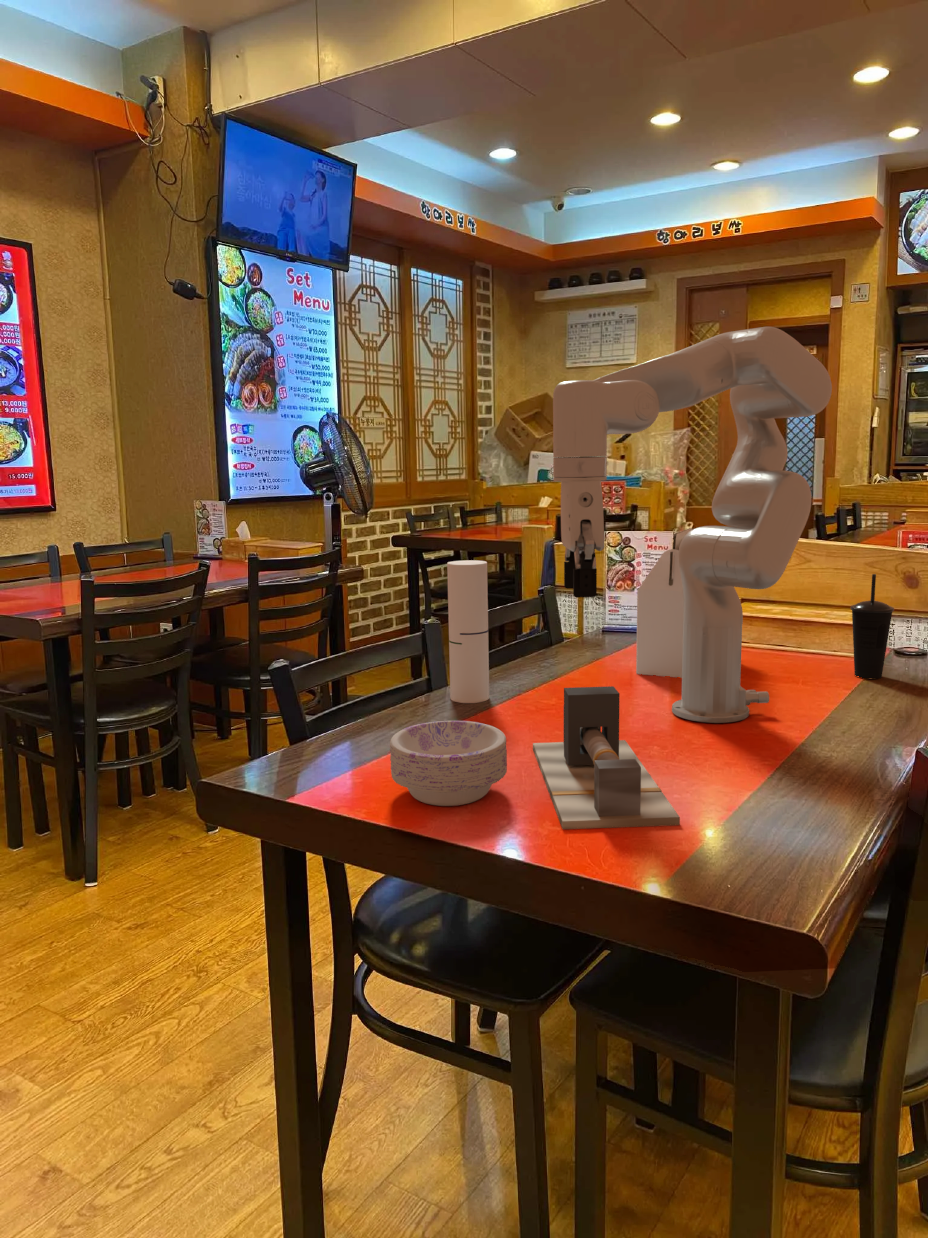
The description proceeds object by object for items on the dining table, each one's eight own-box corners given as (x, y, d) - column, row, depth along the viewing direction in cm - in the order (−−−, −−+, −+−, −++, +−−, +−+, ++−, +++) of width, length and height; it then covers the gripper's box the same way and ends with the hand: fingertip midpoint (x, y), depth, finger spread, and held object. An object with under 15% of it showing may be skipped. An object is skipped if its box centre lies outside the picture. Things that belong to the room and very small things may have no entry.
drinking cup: (892, 674, 178) (898, 572, 175) (886, 682, 172) (893, 577, 169) (850, 670, 182) (856, 571, 179) (843, 678, 176) (849, 575, 173)
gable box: (702, 680, 177) (706, 536, 172) (635, 674, 183) (637, 535, 178) (722, 657, 197) (726, 527, 192) (661, 652, 202) (663, 526, 198)
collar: (563, 756, 129) (563, 687, 127) (612, 754, 129) (613, 686, 128) (568, 765, 125) (568, 695, 123) (618, 764, 126) (619, 693, 124)
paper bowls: (415, 824, 110) (413, 761, 109) (376, 784, 124) (374, 728, 122) (527, 803, 116) (527, 743, 115) (478, 767, 130) (477, 714, 128)
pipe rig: (532, 749, 137) (532, 704, 136) (625, 746, 138) (625, 701, 136) (562, 829, 108) (562, 772, 106) (679, 825, 108) (680, 768, 107)
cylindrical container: (485, 703, 163) (483, 564, 159) (446, 702, 165) (443, 564, 160) (492, 693, 170) (490, 560, 166) (454, 692, 172) (451, 560, 167)
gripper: (618, 470, 121) (617, 601, 124) (595, 469, 138) (594, 583, 141) (562, 472, 121) (562, 602, 124) (545, 470, 138) (546, 584, 141)
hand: (579, 591), depth 132 cm, fingers open, 8 cm apart
